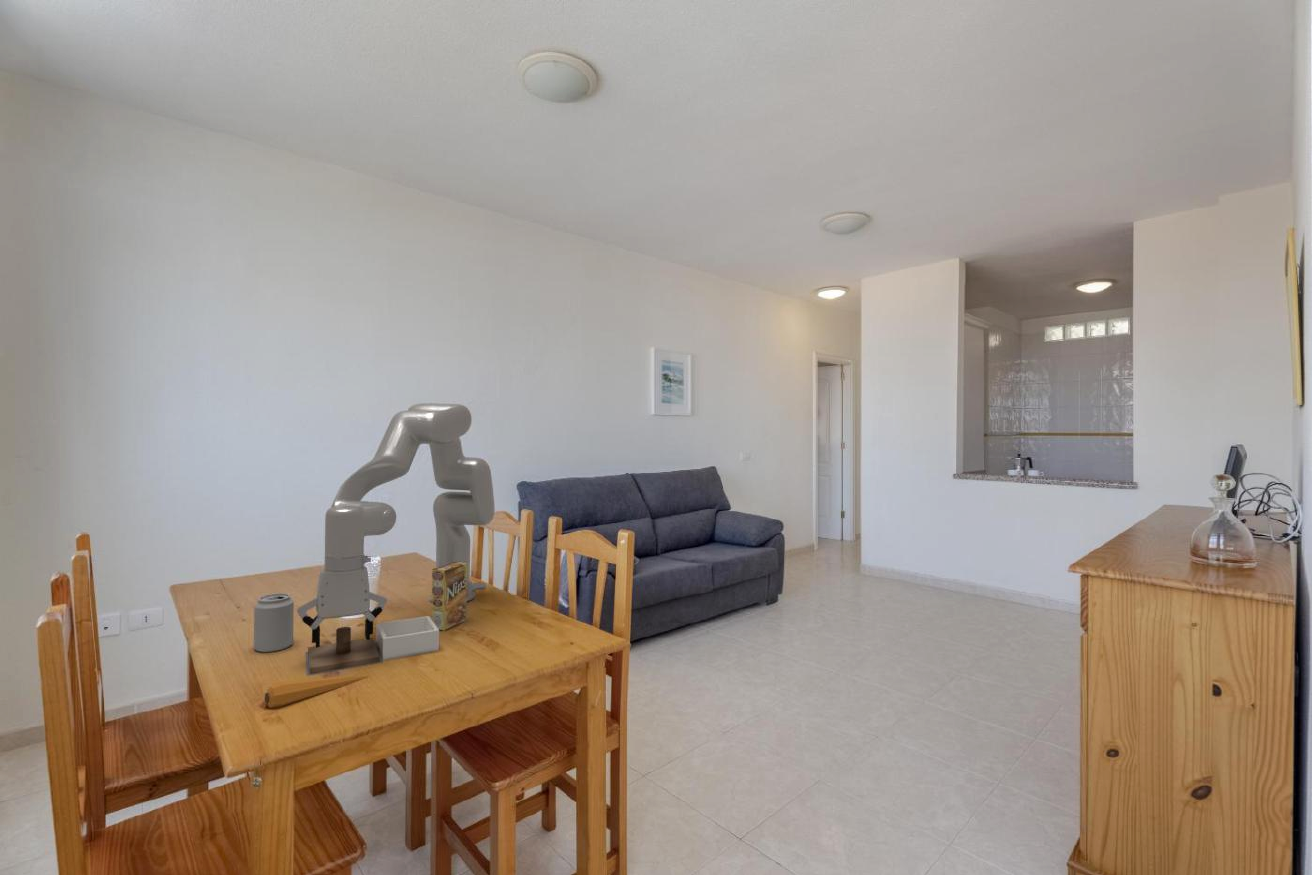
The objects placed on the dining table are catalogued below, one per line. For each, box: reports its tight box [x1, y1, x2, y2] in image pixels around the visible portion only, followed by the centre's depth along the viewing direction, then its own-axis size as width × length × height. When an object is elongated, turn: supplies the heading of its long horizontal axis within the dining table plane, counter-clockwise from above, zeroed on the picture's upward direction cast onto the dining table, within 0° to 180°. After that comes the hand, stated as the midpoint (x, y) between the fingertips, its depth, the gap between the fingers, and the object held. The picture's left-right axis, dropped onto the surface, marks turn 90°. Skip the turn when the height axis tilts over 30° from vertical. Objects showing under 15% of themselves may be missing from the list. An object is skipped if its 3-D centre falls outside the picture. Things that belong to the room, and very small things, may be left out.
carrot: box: [264, 674, 372, 709], centre depth 113 cm, size 20×4×4 cm, turn 140°
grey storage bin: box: [375, 615, 440, 661], centre depth 135 cm, size 12×12×5 cm
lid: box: [307, 626, 381, 674], centre depth 129 cm, size 13×13×6 cm
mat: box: [304, 640, 383, 677], centre depth 129 cm, size 14×14×1 cm
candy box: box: [431, 562, 468, 632], centre depth 152 cm, size 9×4×15 cm, turn 160°
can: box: [253, 592, 295, 653], centre depth 134 cm, size 8×8×12 cm
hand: (342, 641), depth 128 cm, fingers open, 9 cm apart
